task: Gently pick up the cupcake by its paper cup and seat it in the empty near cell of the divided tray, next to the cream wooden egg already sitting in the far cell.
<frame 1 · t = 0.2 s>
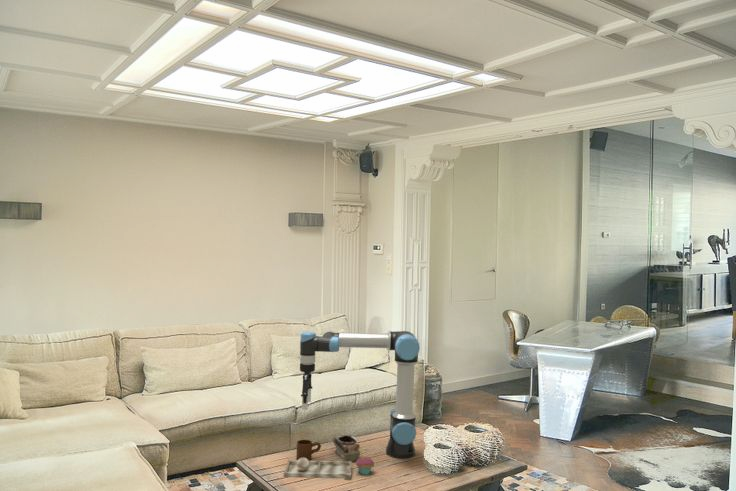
hand: (306, 405, 304), 28 cm above the table, fingers open, 13 cm apart
wooden egg: (302, 470, 290), point 1 cm above the table, touching divided tray
mug: (308, 460, 305), on the table
decorative box: (342, 456, 312), on the table
cupcake: (364, 473, 292), on the table
divided tray: (318, 472, 290), on the table
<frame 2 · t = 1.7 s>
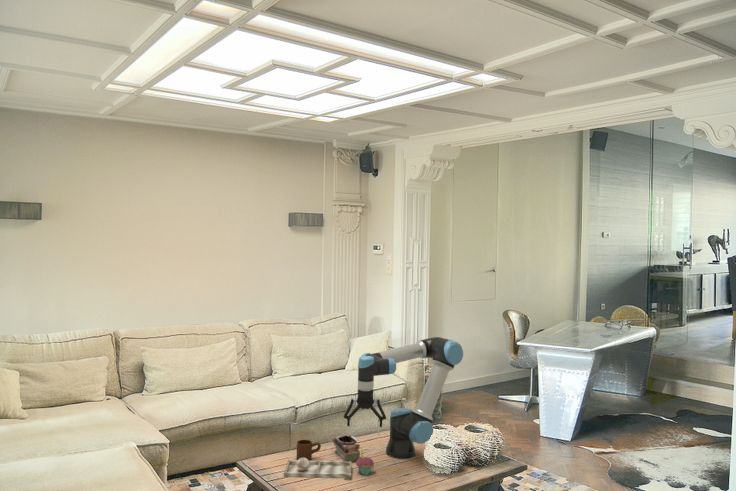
hand: (364, 433, 292), 19 cm above the table, fingers open, 13 cm apart
nothing on the table moved.
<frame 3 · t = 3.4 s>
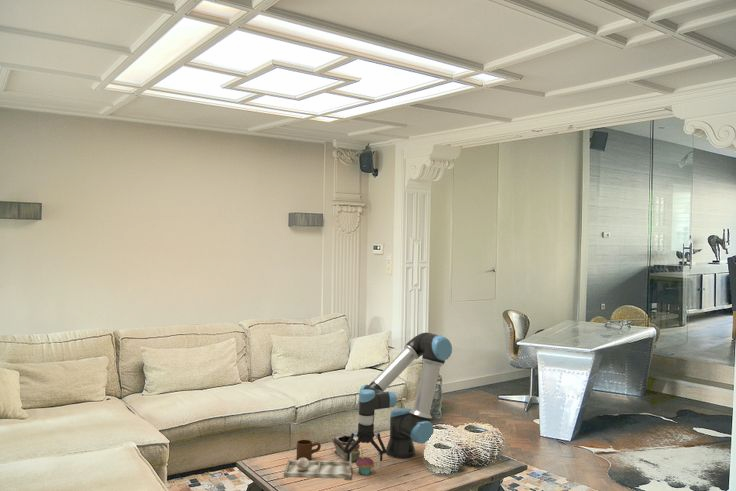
hand: (364, 467, 291), 3 cm above the table, fingers open, 13 cm apart
nothing on the table moved.
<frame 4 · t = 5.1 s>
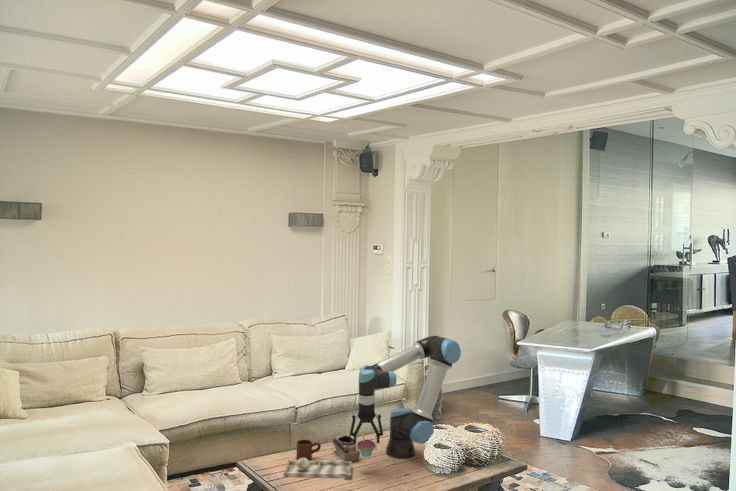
hand: (366, 449, 292), 11 cm above the table, fingers closed on cupcake, 8 cm apart
cupcake: (366, 455, 292), point 8 cm above the table, touching gripper
everything else where it was.
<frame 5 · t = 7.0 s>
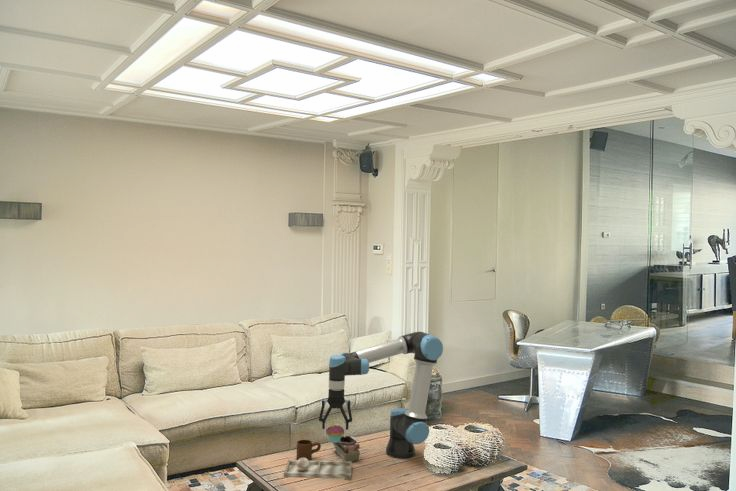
hand: (335, 435, 290), 18 cm above the table, fingers closed on cupcake, 8 cm apart
cupcake: (335, 441, 290), point 15 cm above the table, touching gripper
everything else where it was.
when the fingers open (4 cm above the table, at t = 9.3 s): cupcake stays where it is, resting on divided tray.
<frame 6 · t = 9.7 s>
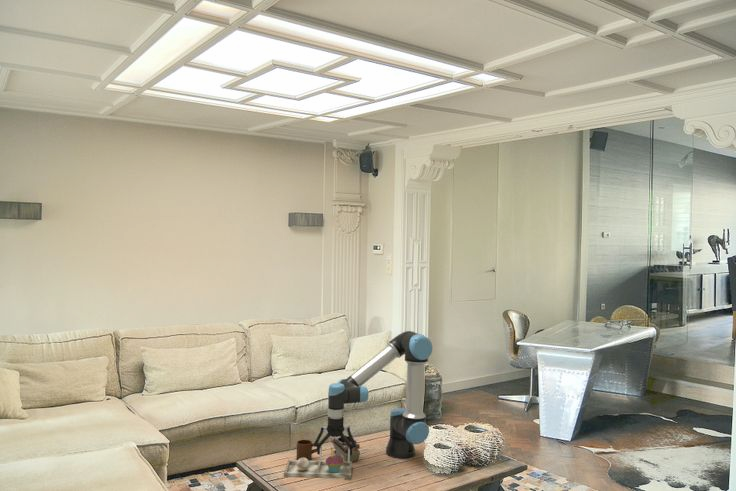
hand: (334, 461, 290), 5 cm above the table, fingers open, 13 cm apart
cupcake: (334, 471, 290), point 1 cm above the table, touching divided tray
everything else where it was.
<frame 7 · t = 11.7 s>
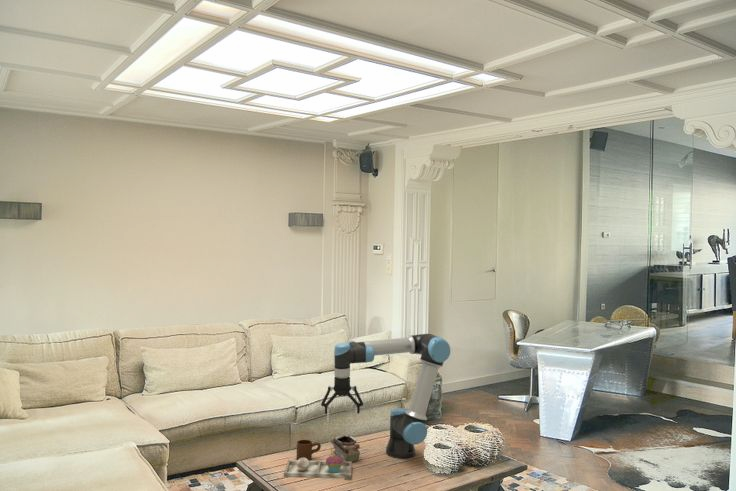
hand: (342, 420, 294), 24 cm above the table, fingers open, 13 cm apart
nothing on the table moved.
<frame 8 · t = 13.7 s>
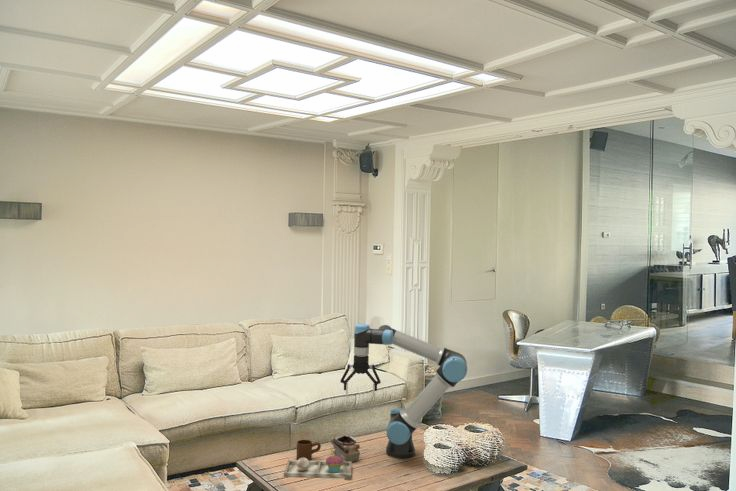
hand: (360, 397, 308), 32 cm above the table, fingers open, 13 cm apart
at the end: cupcake inside the target area on the divided tray (0.0 cm from its centre), point 0.6 cm above the divided tray's base; cupcake tilted 0°; the gripper is holding nothing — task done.
